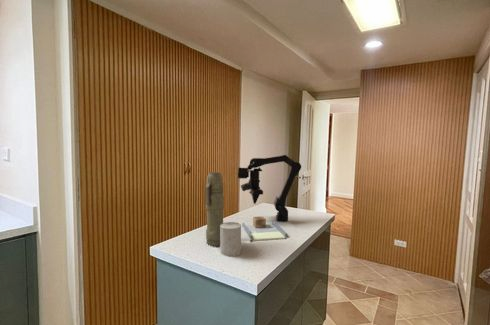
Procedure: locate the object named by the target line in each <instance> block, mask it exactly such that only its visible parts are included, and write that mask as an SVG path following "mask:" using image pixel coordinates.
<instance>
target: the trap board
mask: <svg viewBox="0 0 490 325" xmlns="http://www.w3.org/2000/svg"><path fill="white" fill-rule="evenodd" d="M241 227H242V228H243V230H244V232H245V233H246V234H247V237H248V238H249V239H250V240H249V241H250V242H251V243H253V242H265V241H279V240H280V241H281V240H287V239H288V238H287V236H288V234H287V233H288V232H286V231H285V230H284V229H283V228H282V227H281V226H280V225H278V224H277V222H275V220H272V221H271V223H270V224H269V223H268V224H267V223H266V228H255V227H254V226H253V224H251V225H246V224H245V222H242V223H241ZM269 228H274V229H269ZM251 232H253V233H251Z"/></svg>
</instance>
